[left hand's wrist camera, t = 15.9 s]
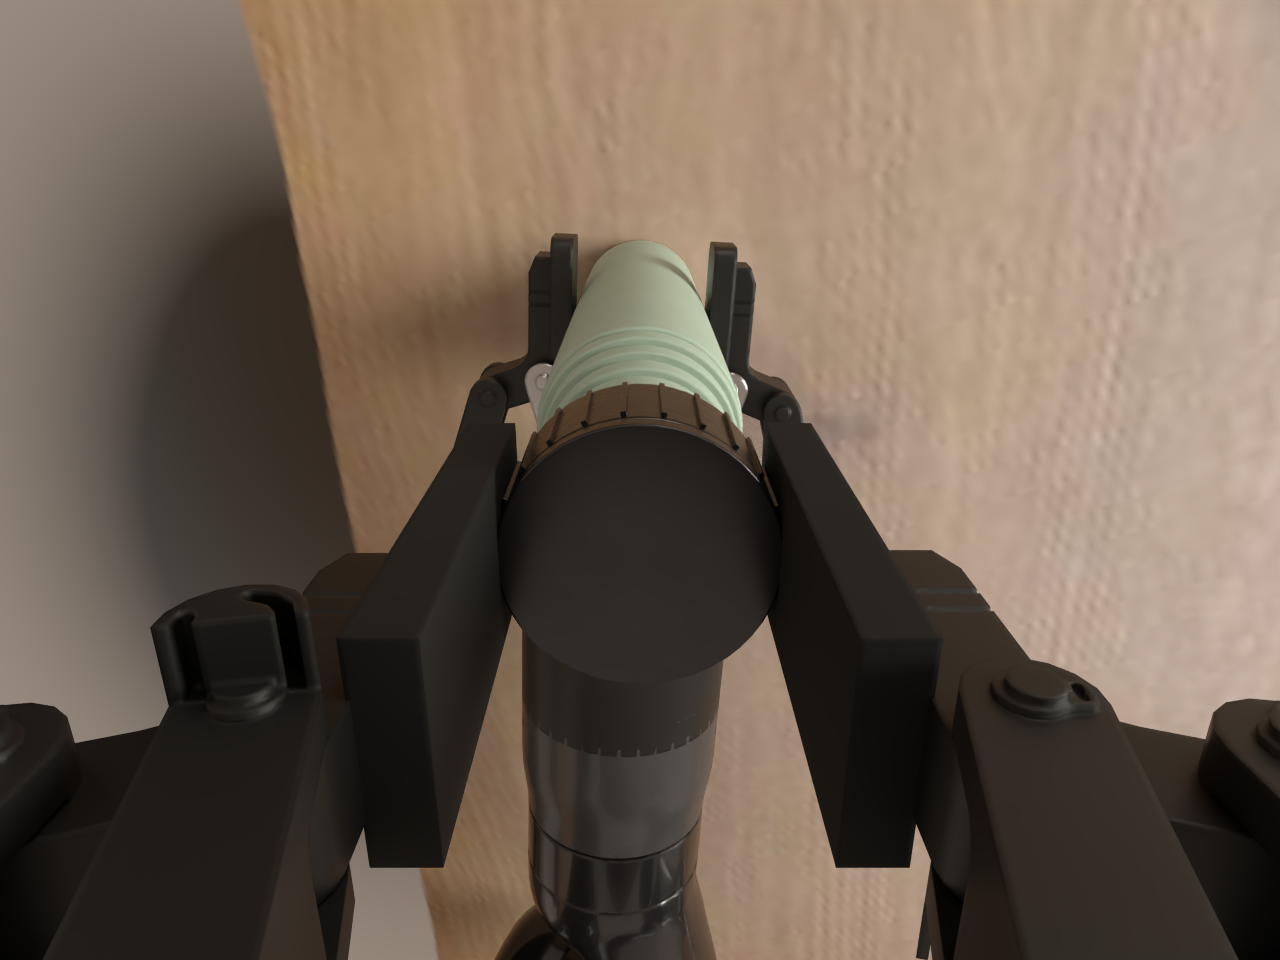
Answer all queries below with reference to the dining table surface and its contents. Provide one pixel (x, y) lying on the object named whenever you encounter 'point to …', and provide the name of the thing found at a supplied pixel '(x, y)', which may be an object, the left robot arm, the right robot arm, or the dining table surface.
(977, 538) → the dining table surface
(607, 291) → the bottle
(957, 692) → the left robot arm
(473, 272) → the dining table surface
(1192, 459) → the dining table surface
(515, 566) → the cap
